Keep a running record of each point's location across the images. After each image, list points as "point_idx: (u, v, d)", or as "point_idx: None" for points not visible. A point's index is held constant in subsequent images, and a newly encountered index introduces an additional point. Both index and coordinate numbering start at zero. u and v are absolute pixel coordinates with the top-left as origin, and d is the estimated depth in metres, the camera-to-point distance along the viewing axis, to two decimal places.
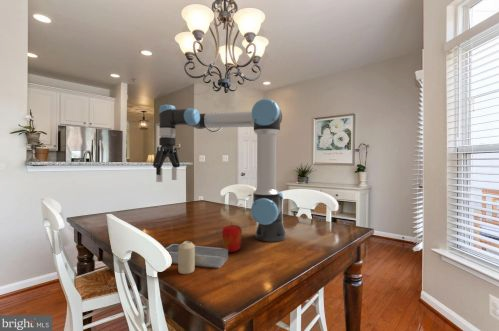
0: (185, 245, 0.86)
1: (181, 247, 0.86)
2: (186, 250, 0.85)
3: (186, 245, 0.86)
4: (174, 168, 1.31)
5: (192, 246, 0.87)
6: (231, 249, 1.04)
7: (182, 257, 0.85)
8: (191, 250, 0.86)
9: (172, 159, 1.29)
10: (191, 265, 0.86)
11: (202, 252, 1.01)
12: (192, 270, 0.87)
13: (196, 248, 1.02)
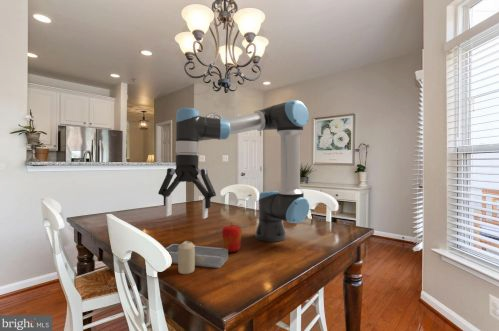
0: (185, 245, 0.86)
1: (181, 247, 0.86)
2: (186, 250, 0.85)
3: (186, 245, 0.86)
4: None
5: (192, 246, 0.87)
6: (231, 249, 1.04)
7: (182, 257, 0.85)
8: (191, 250, 0.86)
9: None
10: (191, 265, 0.86)
11: (202, 252, 1.01)
12: (192, 270, 0.87)
13: (196, 248, 1.02)
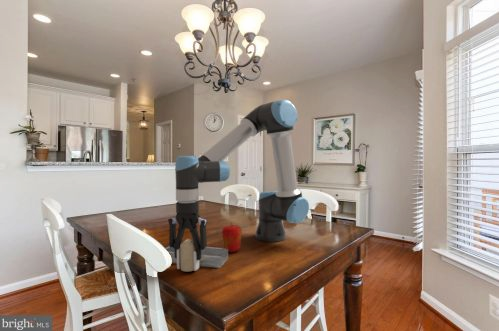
0: (187, 243, 0.86)
1: (183, 245, 0.86)
2: (188, 248, 0.85)
3: (188, 243, 0.86)
4: None
5: None
6: (231, 249, 1.04)
7: (185, 255, 0.85)
8: (193, 248, 0.86)
9: None
10: None
11: (202, 252, 1.01)
12: None
13: None
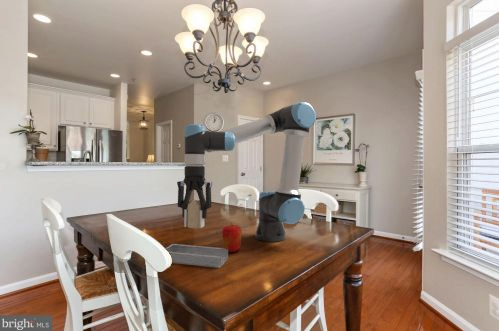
0: (194, 203, 0.96)
1: (190, 204, 0.96)
2: (194, 207, 0.95)
3: (195, 203, 0.96)
4: None
5: None
6: (231, 249, 1.04)
7: (191, 213, 0.95)
8: (199, 207, 0.96)
9: None
10: (199, 221, 0.96)
11: (202, 252, 1.01)
12: None
13: (196, 248, 1.02)
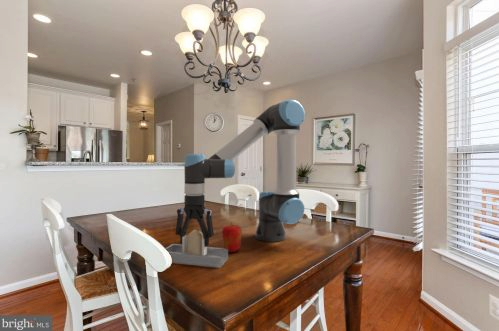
0: (194, 233, 0.96)
1: (190, 235, 0.96)
2: (195, 237, 0.95)
3: (195, 233, 0.96)
4: None
5: (200, 234, 0.97)
6: (231, 249, 1.04)
7: (192, 243, 0.95)
8: (199, 237, 0.96)
9: None
10: (200, 251, 0.97)
11: None
12: None
13: None
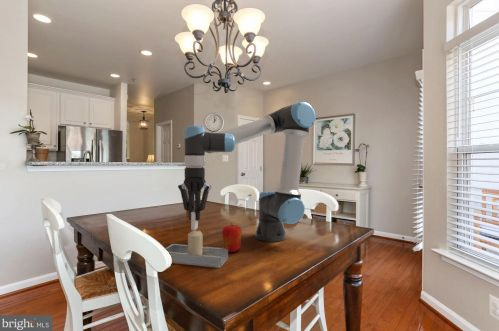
0: (194, 233, 0.96)
1: (190, 235, 0.96)
2: (195, 237, 0.95)
3: (195, 233, 0.96)
4: None
5: (200, 234, 0.97)
6: (231, 249, 1.04)
7: (192, 243, 0.95)
8: (199, 237, 0.96)
9: None
10: (200, 251, 0.97)
11: None
12: None
13: None
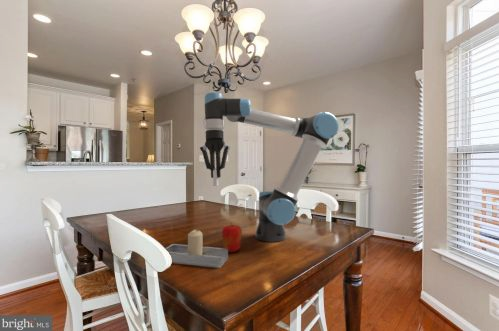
0: (194, 233, 0.96)
1: (190, 235, 0.96)
2: (195, 237, 0.95)
3: (195, 233, 0.96)
4: None
5: (200, 234, 0.97)
6: (231, 249, 1.04)
7: (192, 243, 0.95)
8: (199, 237, 0.96)
9: None
10: (200, 251, 0.97)
11: None
12: None
13: None
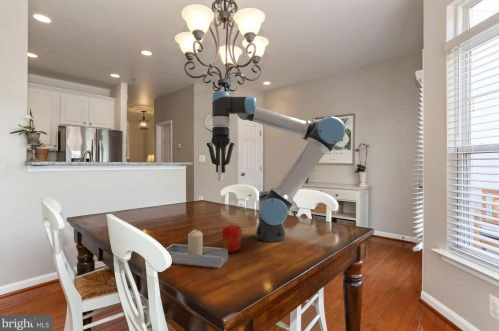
0: (194, 233, 0.96)
1: (190, 235, 0.96)
2: (195, 237, 0.95)
3: (195, 233, 0.96)
4: None
5: (200, 234, 0.97)
6: (231, 249, 1.04)
7: (192, 243, 0.95)
8: (199, 237, 0.96)
9: None
10: (200, 251, 0.97)
11: None
12: None
13: None
